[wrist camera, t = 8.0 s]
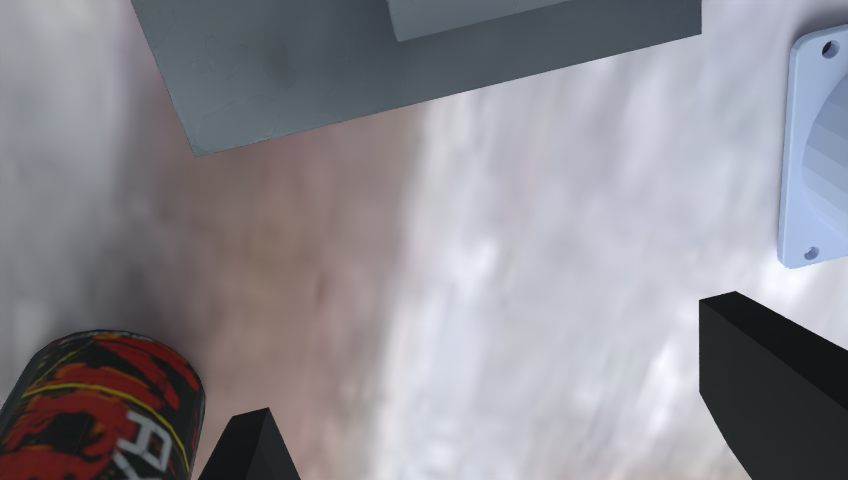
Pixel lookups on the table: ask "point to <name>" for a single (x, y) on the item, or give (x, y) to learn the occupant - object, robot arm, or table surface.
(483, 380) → the table surface
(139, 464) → the deodorant
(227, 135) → the base plate with holder
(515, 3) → the column
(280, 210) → the table surface
